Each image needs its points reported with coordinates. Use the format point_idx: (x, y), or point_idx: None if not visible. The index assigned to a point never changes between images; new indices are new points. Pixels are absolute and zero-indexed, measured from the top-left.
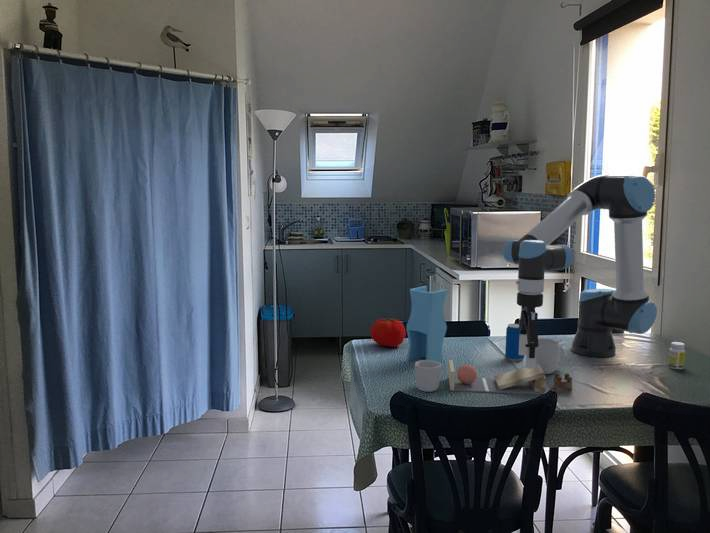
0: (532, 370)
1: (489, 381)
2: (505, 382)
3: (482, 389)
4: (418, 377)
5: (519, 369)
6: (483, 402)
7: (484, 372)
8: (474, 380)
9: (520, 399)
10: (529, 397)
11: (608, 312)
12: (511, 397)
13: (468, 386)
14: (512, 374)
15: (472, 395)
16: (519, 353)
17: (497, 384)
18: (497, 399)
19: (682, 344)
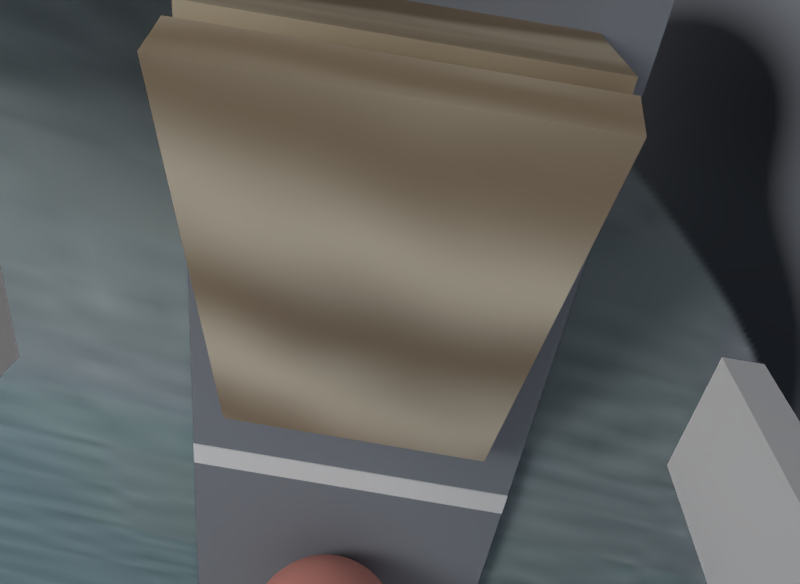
0: (377, 202)
1: (272, 436)
2: (461, 423)
3: (461, 520)
4: None
5: (199, 272)
6: (698, 561)
7: (6, 392)
8: (374, 580)
9: (711, 328)
10: (682, 238)
11: None
12: (643, 378)
13: (393, 574)
14: (302, 346)
15: (548, 579)
16: (1, 366)
17: (438, 453)
18: (663, 477)
19: None
